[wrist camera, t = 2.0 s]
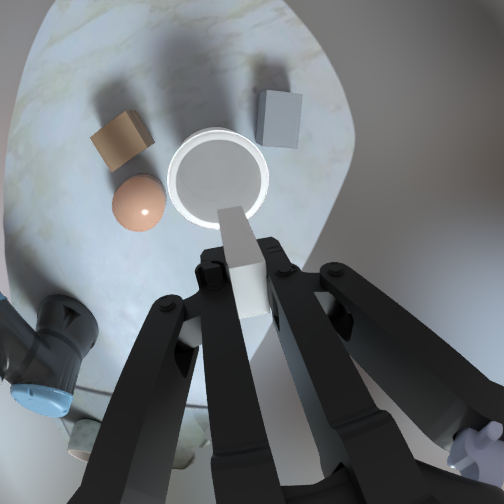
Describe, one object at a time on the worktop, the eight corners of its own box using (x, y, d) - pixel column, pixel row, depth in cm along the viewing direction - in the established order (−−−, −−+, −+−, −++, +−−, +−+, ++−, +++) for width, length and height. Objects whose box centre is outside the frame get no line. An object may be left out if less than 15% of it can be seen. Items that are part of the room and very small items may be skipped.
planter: (68, 409, 66) (61, 445, 53) (112, 419, 71) (108, 457, 58) (78, 427, 73) (73, 459, 60) (117, 436, 78) (115, 469, 65)
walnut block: (123, 164, 37) (111, 172, 32) (104, 133, 34) (89, 137, 29) (154, 142, 36) (147, 147, 31) (135, 110, 33) (125, 110, 28)
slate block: (255, 142, 39) (262, 146, 35) (259, 92, 36) (266, 89, 31) (286, 144, 40) (297, 148, 36) (291, 95, 37) (302, 94, 32)
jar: (166, 142, 37) (148, 158, 24) (231, 113, 36) (248, 114, 24) (195, 202, 42) (194, 246, 29) (256, 175, 42) (283, 208, 29)
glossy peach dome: (126, 225, 42) (120, 236, 38) (113, 180, 38) (105, 187, 34) (171, 215, 43) (169, 225, 39) (160, 168, 39) (157, 174, 35)
